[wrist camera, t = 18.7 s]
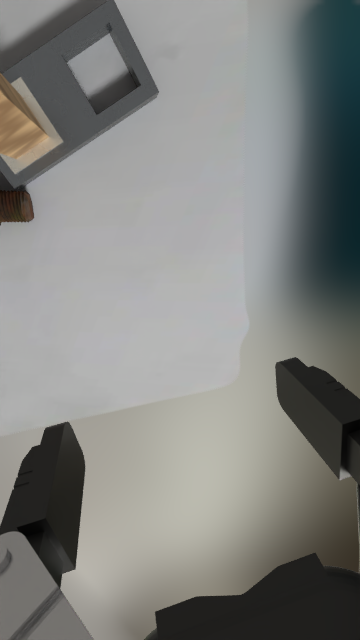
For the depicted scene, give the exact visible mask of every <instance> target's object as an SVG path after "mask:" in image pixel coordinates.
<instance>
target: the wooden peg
mask: <svg viewBox="0 0 360 640" xmlns="http://www.w3.org/2000/svg"><path fill="white" fill-rule="evenodd" d="M48 137H49V136H48V135H47V133H46V132H45V130H44V129H43V128H42V126H41V125H40V123H39V122H38V120H37V119H36V117H35V116H34V114H33V113H32V111H31V110H30V108H29V107H28V105H27V104H26V102H25V101H24V100H23V98H22V97H21V95H20V94H19V93H18V92H17V91H16V89H15V88H14V87H13V86H12V85H11V84H10V83H9V82H8V81H7V80H6V78H5V77H4V76H3V75H2V74H1V73H0V153H1V154H4V155H6V156H9V157H12V158H14V159H17V158H19V157H20V156H22V155H23V154H25V153H26V152H28V151H29V150H30V149H32V148H33V147H35V146H36V145H38V144H39V143H41V142H42V141H44V140H45V139H47V138H48Z"/></svg>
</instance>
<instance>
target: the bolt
mask: <svg viewBox="0 0 360 640" xmlns="http://www.w3.org/2000/svg"><path fill="white" fill-rule="evenodd" d="M33 218H34V213H33V206H32V201H31V198H30V194H28V193H27V192H26V191H24V192H23V191H21V192H20V191H17V192H16V191H14V192H13V191H12V190H11V191H8V190H7V192H6V191H5V190H4V191H2V190H0V225H1V222H6V221H7V222H9V221H10V222H16V221H17V222H19V221H20V222H23V221H24V222H26V221H27V222H29V221H31V220H32V219H33Z"/></svg>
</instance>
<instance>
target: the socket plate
mask: <svg viewBox="0 0 360 640" xmlns="http://www.w3.org/2000/svg"><path fill="white" fill-rule="evenodd" d="M108 33H110V35H111V37H112V39H113V41H114V43H115V45H116V46H117V48H118V50H119V52H120V54H121V56H122V58H123V60H124V62H125V64H126V66H127V68H128V70H129V72H130V74H131V75H132V77H133V79H134V81H135V83H136V85H137V87H138V88H136V89H135V90H133V91H132V92H130V93H129V94H128V95H126V96H125V97H123V98H122V99H120V100H119V101H117V102H116V103H114V104H113V105H111V106H110V107H108V108H107V109H105V110H104V111H102V112H101V113H99V114H98V115H96V113H95V111H94V110H93V108H92V106H91V105H90V103H89V101H88V100H87V98H86V96H85V94H84V93H83V91H82V89H81V88H80V86H79V84H78V83H77V81H76V79H75V78H74V76H73V74H72V72H71V71H70V69H69V67H68V66H67V64H66V62H67V61H69V60H70V59H72V58H73V57H75V56H76V55H78V54H79V53H81V52H82V51H84V50H85V49H86V48H88V47H89V46H91V45H92V44H94V43H95V42H97V41H98V40H100V39H101V38H103V37H104V36H105V35H107V34H108ZM2 75H3V76H4V77H5V78H6V80H7V81H8V82H9V83H10V84H11V85H12V86H13V87H14V88H15V89H16V91H17V92H18V93H19V94H20V95H21V97H22V98H23V100H24V101H25V102H26V104H27V105H28V107H29V108H30V110H31V111H32V113H33V114H34V116H35V117H36V119H37V120H38V122H39V123H40V125H41V126H42V128H43V129H44V130H45V132H46V133H47V135H48V136H49V137H48V138H47V139H45V140H44V141H42V142H41V143H39V144H38V145H36V146H35V147H33V148H32V149H30V150H29V151H28V152H26V153H25V154H23V155H22V156H20V157H19V158H17V159H14V158H12V157H9V156H6V155H4V154H1V153H0V171H1V172H2V174H3V175H4V176H5V177H6V179H7V180H8V181H9V182H10V184H11V185H12V186H13V188H14V189H21V188H22V187H24V186H25V185H27V184H28V183H30V182H31V181H33V180H34V179H36V178H37V177H39V176H40V175H42V174H43V173H45V172H46V171H48V170H49V169H51V168H52V167H54V166H55V165H57V164H58V163H60V162H61V161H63V160H64V159H66V158H67V157H69V156H70V155H71V154H73V153H74V152H76V151H77V150H79V149H80V148H82V147H83V146H85V145H86V144H88V143H89V142H91V141H92V140H94V139H95V138H97V137H98V136H100V135H101V134H103V133H104V132H106V131H107V130H109V129H110V128H112V127H113V126H115V125H116V124H118V123H119V122H121V121H122V120H124V119H125V118H127V117H128V116H130V115H131V114H133V113H134V112H136V111H137V110H139V109H140V108H141V107H143V106H144V105H146V104H147V103H149V102H150V101H152V100H153V99H155V98H156V97H157V95H158V93H159V91H158V89H157V87H156V85H155V83H154V81H153V79H152V77H151V75H150V72H149V70H148V68H147V66H146V64H145V62H144V60H143V58H142V56H141V54H140V52H139V50H138V48H137V46H136V44H135V42H134V40H133V38H132V36H131V34H130V32H129V30H128V28H127V26H126V24H125V22H124V20H123V18H122V16H121V14H120V12H119V10H118V7H117V5H116V3H115V1H114V0H108V1H107V2H105V3H104V4H102V5H101V6H100V7H98V8H97V9H95V10H94V11H92V12H91V13H89V14H88V15H86V16H85V17H84V18H82V19H81V20H79V21H78V22H76V23H75V24H73V25H72V26H70V27H69V28H68V29H66V30H65V31H63V32H62V33H60V34H59V35H57V36H56V37H54V38H53V39H52V40H50V41H49V42H47V43H46V44H44V45H43V46H41V47H40V48H39V49H37V50H36V51H34V52H33V53H31V54H30V55H28V56H27V57H25V58H24V59H23V60H21V61H20V62H18V63H17V64H15V65H14V66H12V67H11V68H9V69H8V70H7V71H5V72H4V73H2Z"/></svg>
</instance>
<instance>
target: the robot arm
mask: <svg viewBox="0 0 360 640" xmlns="http://www.w3.org/2000/svg"><path fill="white" fill-rule="evenodd" d="M275 368H276V383H277V396H278V400H279V403H280V405H281V407H282V408H283V410H284V411H285V412H286V414H287V415H288V416H289V417H290V419H291V420H292V421H293V422H294V424H295V425H296V426H297V428H298V429H299V430H300V431H301V433H302V434H303V435H304V436H305V437H306V439H307V440H308V441H309V443H310V444H311V445H312V446H313V448H314V449H315V450H316V451H317V453H318V454H319V455H320V456H321V458H322V459H323V460H324V461H325V463H326V464H327V465H328V466H329V467H330V469H331V470H332V471H333V472H334V474H335V475H336V476H337V477H338V479H339V480H341V479H344V478H347V477H350V476H352V477H353V478H354V479H355V481H356V482H357V505H358V524H359V525H358V526H359V547H360V399H359V398H358V397H357V396H355V395H354V394H353V393H352V392H350V391H349V390H348V389H345V387H344V386H343V385H342V384H341V383H340V382H337V381H336V379H335V378H333V377H332V376H331V375H330V374H329V373H327V372H326V371H324V370H321V369H319V368H316V367H314V366H311V367H307V366H306V365H305V364H304V363H302V362H301V361H300V360H299V359H298V358H296V357H295V358H291V359H287V360H284V361H280V362H277V363H276V366H275ZM84 476H85V460H84V455H83V452H82V450H81V447H80V445H79V443H78V441H77V438H76V436H75V434H74V431H73V429H72V427H71V425H70V423H69V422H64V423H61V424H57V425H54V426H50V427H47V428H45V430H44V434H43V437H42V440H41V444H40V445H38V446H34V447H32V448H31V450H30V451H29V453H28V454H27V455H26V457H25V458H24V459H23V461H22V463H21V466H20V470H19V473H18V477H17V478H16V481H15V485H14V490H12V493H11V496H10V499H9V502H8V505H7V508H6V511H5V514H4V517H3V520H2V523H1V526H0V640H94V639H93V638H92V637H91V635H90V633H89V632H88V630H87V629H86V627H85V626H84V624H83V623H82V621H81V620H80V618H79V617H78V615H77V614H76V612H75V611H74V609H73V608H72V606H71V605H70V603H69V602H68V600H67V599H66V597H65V596H64V594H63V593H62V591H61V590H60V586H61V578H62V574H63V573H66V572H69V571H72V570H75V568H76V558H77V547H78V537H79V526H80V517H81V506H82V497H83V486H84ZM155 615H156V624H157V628H156V629H155V630H153V631H152V632H151V633H150V634H149V635H148V636H147V637H146V638H145V639H144V640H360V549H359V573H357V572H354V571H352V570H348V569H344V568H340V567H332V566H323V565H322V564H321V562H320V560H319V558H318V557H317V555H316V553H313V554H310V555H308V556H305V557H302V558H299V559H297V560H294V561H291V562H289V563H286V564H283V565H280V566H278V567H277V568H275V569H274V570H273V571H272V572H270V573H269V574H268V575H267V576H265V577H264V578H263V579H262V580H261V581H259V582H258V583H257V584H256V585H254V586H253V587H252V588H251V589H249V590H248V591H247V592H246V593H244V594H242V595H232V596H199V597H194V598H191V599H189V600H186V601H183V602H181V603H178V604H175V605H172V606H170V607H167V608H164V609H162V610H159V611H156V612H155Z"/></svg>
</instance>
